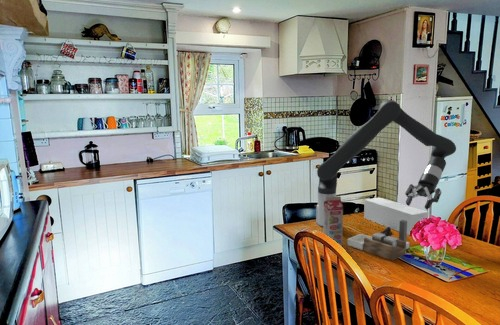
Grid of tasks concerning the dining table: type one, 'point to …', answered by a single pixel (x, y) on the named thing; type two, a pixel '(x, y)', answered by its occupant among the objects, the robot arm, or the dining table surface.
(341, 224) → the juice carton
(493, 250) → the dining table surface
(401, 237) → the scraper
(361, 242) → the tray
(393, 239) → the steel block
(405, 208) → the long white block
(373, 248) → the wooden box
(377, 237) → the steel block
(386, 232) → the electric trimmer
